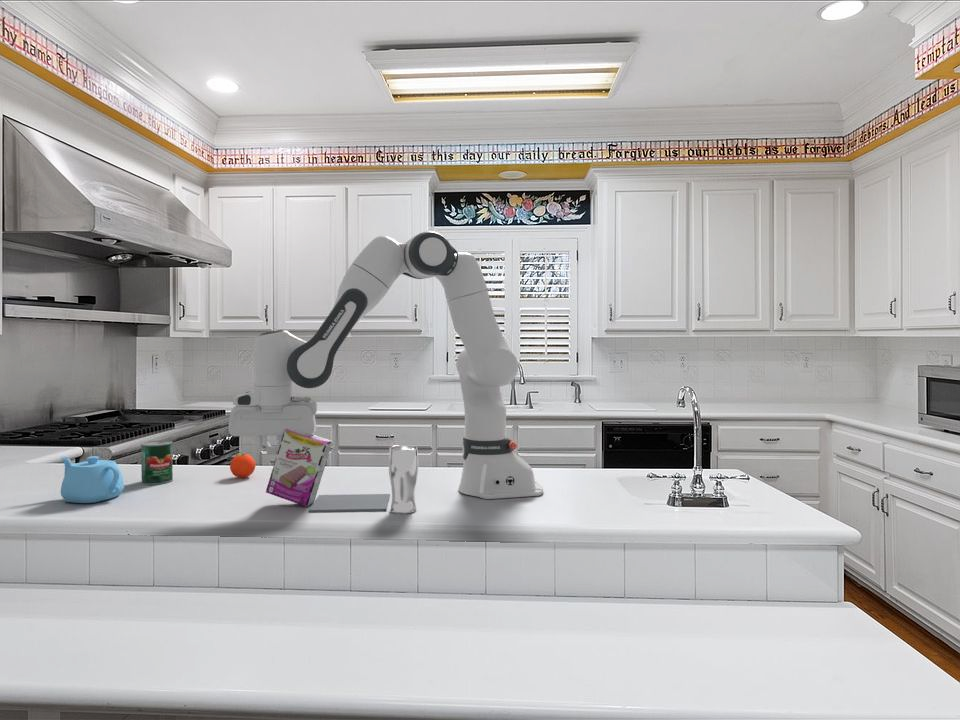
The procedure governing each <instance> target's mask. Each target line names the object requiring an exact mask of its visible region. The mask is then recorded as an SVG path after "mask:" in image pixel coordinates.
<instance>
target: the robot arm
mask: <svg viewBox="0 0 960 720" xmlns="http://www.w3.org/2000/svg"><path fill="white" fill-rule="evenodd" d="M357 255H358V256H356V257H355V259H354V260H353V262H352V263H351V265H350V266H349V267H348V269H347V271H346V273H345V274H344V276H343V277H342V280H341V282H340V285H339V287H338V290H337V296H336V299H335V302H334V304H333V307H332V309H331V310H330V312H329V314H328V315H327V316H326V318H325V320H324V321H323V322H322V324H321V325H320V326H319V328H318V330H317V331H316V332H315V334H314V335H313V336H312V337H311V338H310V339H309V340H308V341H306V340H304V339H301V338H299V337H297V336H295V335H294V334H292V333H290V331H289V330H286V329H279V330H271V331H266V332H263V333H261V334H259V335H258V336H257V337H256V338H255V341H254V347H253V360H252V361H253V364H252V365H253V366H252V367H253V371H254V374H255V376H254V381H253V390H252V391H251V390H249V391H246V392H245V393H242V394H239V395H236V396H234V397H233V398H232V404H233V407H232V409H231V411H230V413H229V418H228V433H229V435H231V436H233V437H261V441H262V443H263V445H264V447H265V448H266V455H277V453H278V450H279V446H280V443H281V440H282V436H283V433H284V430H285V429H287V430H291V431H294V432H298V433H301V434H305V435H309V436H310V435H312V434H314V435H315V433H316V432H317V421H316V413H317V412H318V410H317V406H318V405H317V402H316V401H315V400H314V399H312V398H311V397H308V396H305V397H303V396H302V397H299V396H293V385H292V384H293V383H294V384H295V385H297V386H299V387H300V388H304V389H314V388H315V389H316V388H318V387H321V386H323V385H324V384H325V383H327V381H328V380H329V379H330V376H331V375H332V372H333V366H334V360H335V356H336V354H337V352H338V351H339V349H340V347H341V346H342V344H343V342H345V340H346V338H347V337H348V335H349V334H350V333H351V331H352V329H353V328H354V327H355V325H356V324H357V323H358V322H359V320H361V319H362V318H363V317H364V316H366V315H367V314H368V313H370V312H371V311H372V310H373V309H374V308H375V307H376V306H377V305H378V304H379V303H380V302H381V301H382V299H383V298H384V297H385V296H386V294H387V293H388V292H389V290H390V289H391V287H392V286H393V284H394V283H395V281H396V280H397V279H398V278H399V277H400V276H401V275H404V276H406V277H409V278H413V279H416V280H423V279H424V280H425V279H429V278H433V277H435V279H437V280H438V281H439V282H440V284H441V285H442V288H443V291H444V296H445V299H446V304H447V307H448V310H449V314H450V317H451V321H452V325H453V328H454V331H455V332H456V333H457V335H458V336H459V338H460V340H461V343H462V345H463V346H464V349H463V350H461V352H459V354H458V356H457V357H456V363H455V365H456V366H455V367H456V370H457V373H458V375H459V381H460V388H461V394H462V400H463V409H464V437H463V438H462V458H463V465H462V472H461V477H460V482H459V486H458V489H457V491H458V492H460V493H461V494H463V495H464V494H465V495H467V496H471V497H472V496H473V497H478V498H481V499H483V500H484V499H486V500H491V499H492V500H494V499H508V498H509V499H510V498H521V497H522V498H523V497H524V498H525V497H537V496H541V495H542V494H544V488H543V486H542V485H541V484H540V483H539V482H537V481H536V480H535V475H534V472H533V468H532V467H531V465H530V464H529V463H528V462H526V461H525V460H524V459H523V458H522V457H520V456H519V455H518V454H516V453H515V452H513V451H515V450H516V449H517V447H518V444H517V443H516V442H515V440H511V439H510V438H509V437H507V409H506V405H505V403H504V400H503V397H502V393H501V387H504V386H507V385H509V384H510V383H512V382H513V381H514V380H515V378H516V377H517V374H518V372H519V363H518V359H517V357H516V355H515V354H514V353H513V352H512V350H511V348H509V345H508V343H507V341H506V339H505V337H504V335H503V333H502V330H501V329H500V326H499V324H498V322H497V319H496V316H495V314H494V309H493V307H492V302H491V299H490V294H489V291H488V286H487V283H486V280H485V278H484V274H483V272H482V269H481V267H480V265H479V262H478V261H477V258H475V256H474V255H473V254H471V253H468V252H465V251H464V252H463V251H460V252H458V250H456V249H455V248H454V246H453V245H452V244H451V243H450V242H449V241H448V240H447V238H446V237H445V236H443V234H440V233H439V232H436V231H432V230H431V231H427V230H426V231H423V232H420V233H418V234H416V235H414V236H413V237H411V238H410V239H409V240H407V241H406V242H405V243H400V242H398V241H397V240H396V239H394V238H392V237H389V236H386V235H381V236H380V235H379V236H377V237H375V238H373V239H372V240H371V241H370V242H368V244H367V245H366V246H364V248H363V249H362V251H361V252H360V253H359V254H357ZM271 436H272V437H273V436H274V437H275V436H276V441H278V442H277V444H276V445H271V444H270V442H269V439H270V437H271Z"/></svg>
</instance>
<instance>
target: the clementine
mask: <svg viewBox="0 0 960 720" xmlns="http://www.w3.org/2000/svg"><path fill="white" fill-rule="evenodd" d="M229 469H230V472H231V474H232V475H233V476H235V478H239V479H245V478H248V477H250V476H251V475H252V474H253V473H254V471H255V469H256V460H255V459H254V458H253V456H251V455H250V454H248V453H247V454H246V453H238V454H235V456H234V457H233V458H232V459H231V461H230V464H229Z"/></svg>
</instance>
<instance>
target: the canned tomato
mask: <svg viewBox="0 0 960 720" xmlns="http://www.w3.org/2000/svg"><path fill="white" fill-rule="evenodd" d="M140 446H141V448H140V459H141V464H140V465H141V466H140V468H141V469H140V470H141V472H140V473H141V474H140V475H141V484H142V485H146V486H151V485H152V486H153V485H154V486H157V485H164V484H169V483H171V482H173V480H174V478H173V475H174V472H173V471H174V470H173V466H174V464H173V441H172V440H164V439H163V440H162V439H161V440H151V441H150V440H149V441H144V442H141V443H140Z"/></svg>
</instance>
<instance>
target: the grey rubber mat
mask: <svg viewBox="0 0 960 720" xmlns="http://www.w3.org/2000/svg"><path fill="white" fill-rule="evenodd" d="M390 497H391V493H380V494H379V493H364V494H362V493H358V494H357V493H356V494H353V493H352V494H318V496H316V498H315V501H314V502H313V503H312V504H311V506H310V507H309V509H308V512H309V513H326V512H327V513H331V512H333V513H334V512H335V513H337V512H339V513H340V512H382V511H383V512H386V511H387V510H388V505H389V501H390Z"/></svg>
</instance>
